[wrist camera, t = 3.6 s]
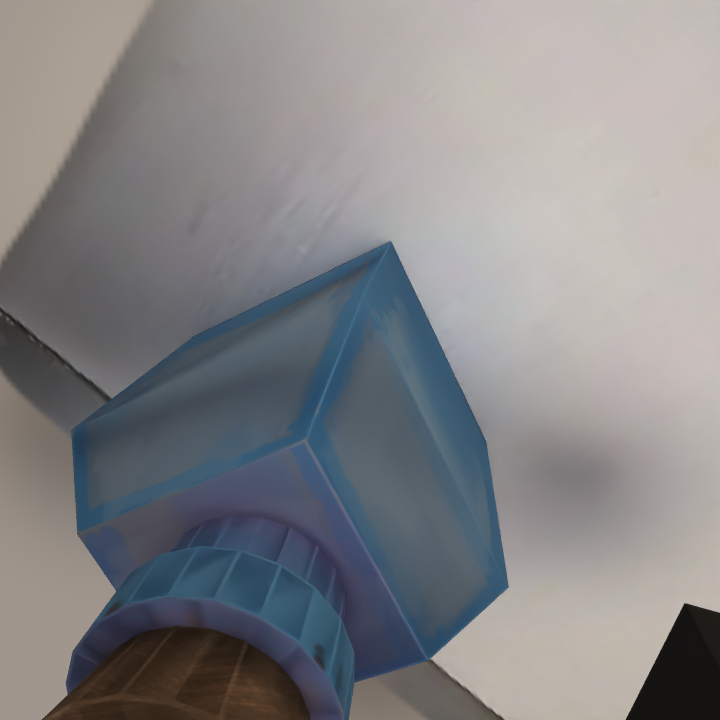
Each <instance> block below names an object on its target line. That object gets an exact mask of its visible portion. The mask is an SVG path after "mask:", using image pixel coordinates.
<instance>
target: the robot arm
mask: <svg viewBox="0 0 720 720" xmlns="http://www.w3.org/2000/svg"><path fill="white" fill-rule="evenodd" d="M626 720H720V613H718V612H715V611H711V610H708V609H704V608H700V607H697V606H693V605H690V604H686V603H684V605H683V607H682V609H681V611H680V613H679V615H678V617H677V619H676V621H675V623H674V625H673V627H672V629H671V631H670V633H669V635H668V637H667V639H666V641H665V643H664V645H663V647H662V649H661V651H660V653H659V655H658V657H657V659H656V661H655V663H654V665H653V667H652V669H651V671H650V673H649V675H648V677H647V679H646V681H645V683H644V685H643V687H642V689H641V691H640V693H639V695H638V697H637V699H636V700H635V702H634V704H633V706H632V708H631V710H630V712H629V714H628V716H627V718H626Z"/></svg>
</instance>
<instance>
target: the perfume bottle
mask: <svg viewBox="0 0 720 720" xmlns="http://www.w3.org/2000/svg"><path fill="white" fill-rule="evenodd" d="M71 432H72V449H73V466H74V482H75V498H76V499H75V501H76V515H77V516H76V518H77V534H78V536H79V537H80V539H81V540H82V542H83V543H84V545H85V546H86V548H87V549H88V550H89V552H90V553H91V555H92V556H93V558H94V559H95V561H96V562H97V563H98V565H99V566H100V568H101V569H102V571H103V572H104V574H105V575H106V577H107V578H108V579H109V581H110V582H111V584H112V585H113V587H114V588H115V590H116V593H115V594H114V595H113V597H112V598H111V600H110V601H109V602H108V604H107V605H106V606H105V608H104V609H103V610H102V612H101V613H100V615H99V616H98V617H97V619H96V620H95V621H94V623H93V624H92V625H91V627H90V628H89V630H88V631H87V632H86V634H85V635H84V636H83V638H82V639H81V641H80V642H79V643H78V645H77V646H76V647H75V649H74V650H73V653H72V657H71V662H70V666H69V671H68V676H67V680H66V687H67V692H68V695H67V696H66V697H65V698H64V699H63V700H62V701H61V702H60V703H59V704H58V705H57V706H56V707H55V708H54V709H53V710H52V711H51V712H49V713H48V714H47V715H46V716H45V717H44V718H43V719H42V720H348V719H349V713H350V707H351V701H352V694H353V688H354V682H358V681H361V680H364V679H368V678H371V677H375V676H378V675H381V674H385V673H388V672H392V671H395V670H398V669H402V668H405V667H408V666H412V665H415V664H419V663H422V662H425V661H428V660H429V659H430V658H431V657H433V656H434V655H435V654H436V653H437V652H438V651H439V650H440V649H441V648H442V647H444V646H445V645H446V644H447V643H448V642H449V641H450V640H451V639H452V638H453V637H455V636H456V635H457V634H458V633H459V632H460V631H461V630H462V629H463V628H464V627H466V626H467V625H468V624H469V623H470V622H471V621H472V620H473V619H474V618H475V617H477V616H478V615H479V614H480V613H481V612H482V611H483V610H484V609H485V608H486V607H488V606H489V605H490V604H491V603H492V602H493V601H494V600H495V599H496V598H497V597H499V596H500V595H501V594H502V593H503V592H504V591H505V590H506V589H507V588H508V587H509V586H508V580H507V573H506V567H505V560H504V554H503V547H502V541H501V534H500V528H499V521H498V515H497V509H496V502H495V496H494V489H493V483H492V476H491V470H490V463H489V457H488V450H487V444H486V440H485V438H484V436H483V434H482V432H481V430H480V428H479V426H478V424H477V421H476V419H475V417H474V415H473V413H472V411H471V409H470V407H469V405H468V403H467V400H466V398H465V396H464V394H463V392H462V390H461V388H460V386H459V384H458V381H457V379H456V377H455V375H454V373H453V371H452V369H451V367H450V365H449V363H448V360H447V358H446V356H445V354H444V352H443V350H442V348H441V346H440V344H439V342H438V339H437V337H436V335H435V333H434V331H433V329H432V327H431V325H430V323H429V320H428V318H427V316H426V314H425V312H424V310H423V308H422V306H421V304H420V302H419V299H418V297H417V295H416V293H415V291H414V289H413V287H412V285H411V283H410V280H409V278H408V276H407V274H406V272H405V270H404V268H403V266H402V264H401V262H400V259H399V257H398V255H397V253H396V251H395V249H394V247H393V245H392V243H391V241H390V242H388V243H386V244H384V245H382V246H380V247H378V248H376V249H374V250H372V251H370V252H368V253H366V254H364V255H361V256H359V257H357V258H355V259H353V260H351V261H349V262H347V263H345V264H343V265H341V266H339V267H337V268H335V269H332V270H330V271H328V272H326V273H324V274H322V275H320V276H318V277H316V278H314V279H312V280H310V281H308V282H306V283H304V284H301V285H299V286H297V287H295V288H293V289H291V290H289V291H287V292H285V293H283V294H281V295H279V296H277V297H275V298H272V299H270V300H268V301H266V302H264V303H262V304H260V305H258V306H256V307H254V308H252V309H250V310H248V311H246V312H244V313H241V314H239V315H237V316H235V317H233V318H231V319H229V320H227V321H225V322H223V323H221V324H219V325H217V326H215V327H212V328H210V329H208V330H206V331H204V332H202V333H200V334H198V335H196V336H194V337H192V338H191V339H190V340H188V341H187V342H186V343H184V344H183V345H182V346H181V347H179V348H178V349H177V350H175V351H174V352H173V353H171V354H170V355H169V356H167V357H166V358H165V359H164V360H162V361H161V362H160V363H158V364H157V365H156V366H154V367H153V368H152V369H150V370H149V371H148V372H147V373H145V374H144V375H143V376H141V377H140V378H139V379H137V380H136V381H135V382H134V383H132V384H131V385H130V386H128V387H127V388H126V389H124V390H123V391H122V392H120V393H119V394H118V395H117V396H115V397H114V398H113V399H111V400H110V401H109V402H107V403H106V404H105V405H104V406H102V407H101V408H100V409H98V410H97V411H96V412H94V413H93V414H92V415H90V416H89V417H88V418H87V419H85V420H84V421H83V422H81V423H80V424H79V425H77V426H76V427H75V428H74V429H72V430H71Z"/></svg>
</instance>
